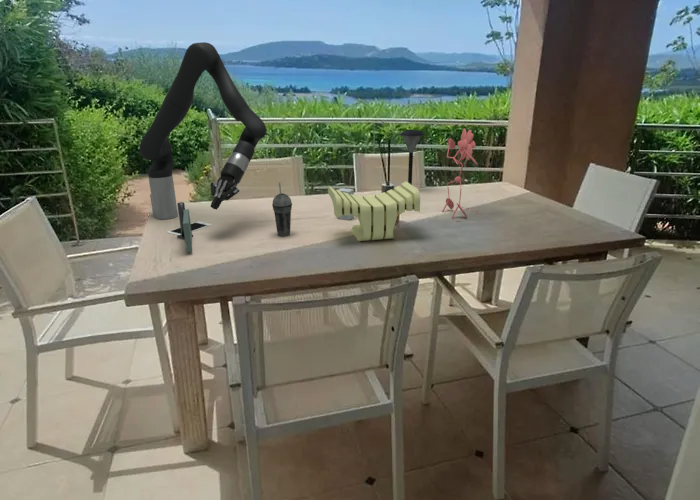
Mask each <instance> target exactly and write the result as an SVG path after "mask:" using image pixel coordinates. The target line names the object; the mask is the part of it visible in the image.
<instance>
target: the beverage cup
mask: <svg viewBox="0 0 700 500" xmlns="http://www.w3.org/2000/svg"><path fill="white" fill-rule="evenodd" d="M278 188H279V193H278V194H276V195H275V196H274V198H273V199H272V209H273V211H274V212H273V214H274V219H275V224H276V226H275V227H276V232H277V236H278V237H289V236H290V235H291V223H292V221H291V220H292V218H291V217H292V209H293V208H292V206H293V203H292V199H291V197H290V195H288V194H286V193H282V187H281V182H278Z"/></svg>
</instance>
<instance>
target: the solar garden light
mask: <svg viewBox="0 0 700 500" xmlns="http://www.w3.org/2000/svg"><path fill="white" fill-rule="evenodd" d="M398 135H399V136H401V137H402V139H403V140H404V143H405V145H406V147H407V150H408V171H407V173H408V175H407V182H408V183H410V184H411V185H412V186H413V162H414V152H415V149H416V147H417V146H418V143H419V141H420V140H421V137H422V136H426V134H425V133H423V132H422V131H420V130H418V129H406V130H403V131H402V132H400V133H399V134H398Z"/></svg>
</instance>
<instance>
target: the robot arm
mask: <svg viewBox="0 0 700 500" xmlns="http://www.w3.org/2000/svg"><path fill="white" fill-rule="evenodd" d="M220 56H221V55H220V54H219V53H218V50H217V48H216V47H215V46H214V45H213V44H211V43H209V42H205V41H204V42H203V41H202V42H194V43H192V44H191V45H189V46H188V47H187V49H186V50H185V53H184V56H183V58H182V61H181V63H180V67H179V69H178V72H177V74H176V76H175V78H174V80H173V82H172V84H171V86H170V88H169V89H168V91H167V93H166V95H165V97H164V99H163V101H162V103H161V106H160V107H159V110H158V112H157V113H156V115H155V117H154V120H153V121H152V124H151V126H149V128H148V130H147V131H146V133H145V134H144V136H143V137H142V139H141V141H140V143H139V153H140V155H141V157H142V158H143V159H144V160H146V161H152V164H151V165H150V167H149V168H148V169H147V175H148V176H147V177H148V182H149V188H150V195H149V198H150V204H151V210H152V216H153V217H154V218H155V219H157V220H168V219H169V220H170V219H174V218H177V217H179V213H178V205H177V199H176V198H177V197H176V191H175V183H174V177H173V176H174V175H173V169H174V161H173V160H174V157H173V149H172V144H171V142H170V140H169V139H168V136H169V135H170V133H171V132H173V131H174V129H176V128H177V127H178V126H179V125H180V124H181V123H182V121H183V120H184V119H185V117H186V116H187V115H188V112H189V110H190V109H191V107H192V105H193V101H194V93H195V87H196V85H197V83H198V81H199V79H200V78H201V76H202V74H203V73H204V72H205V71H206V72H207V73H208V74H209V75H210V76H211V78H212V79H213V81H214V83H215V84H216V86H217V89H218V92H219V94H220V98H221V99H222V102H223V105H225V107H226V109H227V110H228V112H229V113H230V115H231V116H232V117H233V119H235V121H237V122H241V123H242V125H244V128H243V130H242V131H241V133H240V137H239V139H238V142H237V144H236V145H235V147H234V149H233V150H232V152H231V154H230V155H229V156H228V158H227V160H226V162H225V164H224V165H223V167H222V169H221V171H220V174H219V175H220V177H219V178H218V179H217V181H216V182H215V183H214V182H210V185H209V186H210V193H211V196H212V197H213V200H212V201H211V202H210V208H212V209H213V210H218V208H219V207H220V206H221V204H222V202H223V201H229V200H230V199H232V198H233V197H234V196H235V195H237V194H238V193H240V189H239V188H238V187H237V186H238V184H240V183H241V181H242V179H243V177H244V175H245V173H246V172H247V169H248V168H249V165H250V162H251V160H252V159H253V156H254V154H255V152H256V151H255V149H256V146H257V145H258V143H259V142H260V141H261V140H262V139H264V137H265V136H266V135H267V132H268V131H267V126H266V124H265V122H264V121H263V120H262V119H261V118H260V116H259V115H258V114H256V112H255V111H254V110H253V109H251V108H250V106H249V105H248V103H247V101H246V100H245V98H244V97H243V95H242V94H241V92H240V91H239V90H238V88H237V86H236V85H235V83H234V82H233V79H232V78H231V76H230V75H229V72H228V70H227V68H226V67H225V64H224V63H223V60H222V58H221V57H220Z"/></svg>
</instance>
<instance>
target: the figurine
mask: <svg viewBox="0 0 700 500" xmlns="http://www.w3.org/2000/svg"><path fill="white" fill-rule="evenodd" d="M461 133H462V134H461V136H460V140H458V141H457V147H458V148H459V149H458V150H457V151H456V153H455V155H454V156H449V155H450V154H449V152H450V150H452V151H453V150H455V149H456V142H455V141H454V139H452V138H451V137H450V138H448V140H447V143H446V144H447V146H448V148H447V153H446V158H447V159H452V160H453V161H454V162H455V163H456V165H457V166H459V164H460V165H461V168H460V172H459V175H458V176H456V177H455V178H454V180H452V181H449V182H448V183H447V194H448V195H447V196H448V197H446V199H445V205H444V206H443V207H444V208H443V209H442V210H441V212H442V213H443V212H444V211H445V209H446V208H447V207H448V208H449V209H450V210H453V209H454V207H455V204H454V201H453V200H452V199H451V198H450V191H449V184H451V183H456V184H459V187H460V191H459V202H458V203H456V205H457V206H456V208H455V211H454V212H453V214H452V216H451V218H452V219H453V218H454V216H455V214H456V213H457V210H458V209H459V210H460V211H461V213H462V214H463V215H464V216H465V218H468V215H467V214H466V212H465V211H464V207H461V206H462V205H461V196H462V177H461V174H462V170H463V168H464V164H463V163H462V162H461V160H464V159H465V158H466V160H467V161H470V160H471V161H472V162H473V163H474V164H475V165H476V166H479V164H478V162H477V161H476V160H475V158H474V157H473V149H474V148H476V146H477V145H476V142H475V140H473V139H474V133H473V132H472V129H469V130H468V131H467V130H466V128H463V130H462V132H461ZM459 154H460V158H459V160H458V159H456V157H457V156H458V155H459ZM465 209H467V210H471V211H474V212H475V213H478V214H479V212H478V211H477V210H473V209H471V208H469V207H465ZM456 222H457V223H460V222H461V220H457V221H456Z"/></svg>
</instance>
